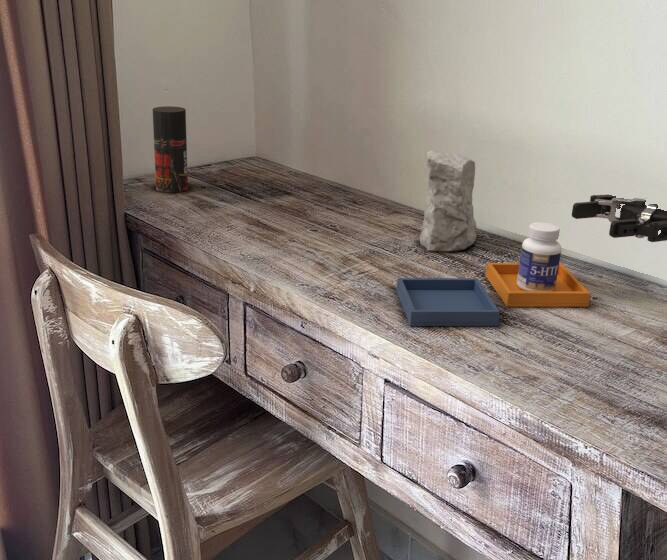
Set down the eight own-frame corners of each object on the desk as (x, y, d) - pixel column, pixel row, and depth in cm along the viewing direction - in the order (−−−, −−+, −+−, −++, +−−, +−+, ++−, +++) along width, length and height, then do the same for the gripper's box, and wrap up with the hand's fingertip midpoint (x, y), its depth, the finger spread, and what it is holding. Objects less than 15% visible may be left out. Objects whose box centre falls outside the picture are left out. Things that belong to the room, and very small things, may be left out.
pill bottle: (527, 295, 110) (536, 233, 107) (510, 281, 115) (517, 221, 112) (562, 293, 112) (571, 231, 108) (543, 279, 116) (552, 219, 113)
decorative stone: (477, 255, 126) (487, 163, 121) (418, 251, 127) (425, 159, 122) (475, 235, 135) (484, 148, 130) (420, 230, 136) (427, 144, 131)
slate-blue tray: (498, 326, 102) (500, 311, 101) (410, 326, 101) (411, 311, 100) (476, 291, 112) (478, 278, 112) (396, 291, 111) (397, 277, 111)
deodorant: (156, 184, 157) (153, 106, 151) (187, 184, 158) (185, 106, 152) (155, 192, 152) (151, 112, 146) (187, 192, 153) (185, 112, 147)
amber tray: (588, 306, 109) (590, 293, 108) (506, 306, 108) (508, 292, 107) (560, 275, 119) (562, 263, 118) (485, 275, 118) (486, 262, 117)
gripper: (656, 174, 122) (565, 180, 117) (728, 200, 110) (630, 208, 105) (647, 221, 125) (558, 229, 120) (716, 252, 113) (620, 263, 108)
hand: (592, 220), depth 112 cm, fingers open, 8 cm apart
